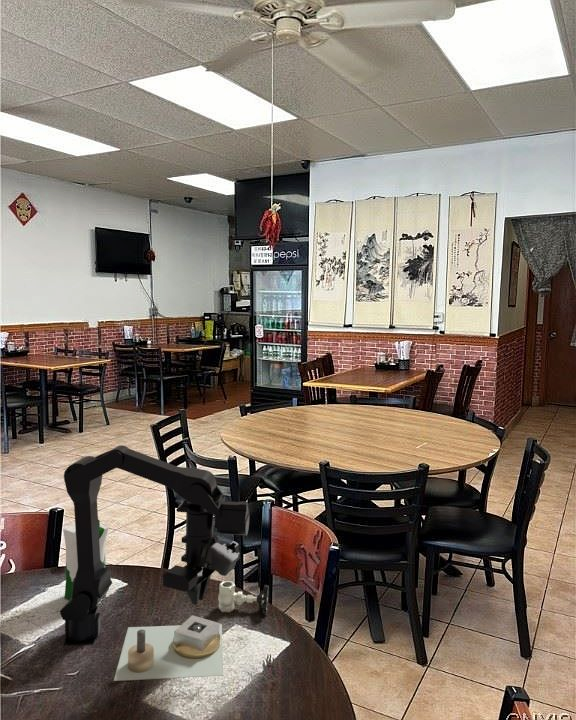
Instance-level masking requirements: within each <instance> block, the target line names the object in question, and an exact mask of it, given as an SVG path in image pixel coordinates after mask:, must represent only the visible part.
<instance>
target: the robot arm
mask: <svg viewBox="0 0 576 720" xmlns="http://www.w3.org/2000/svg"><path fill="white" fill-rule="evenodd" d="M115 469H119V470H122V471H125V472H127V473H130V474H132V475H135V476H137V477H140V478H144V479H146V480H149V481H152V482H154V483H157V484H160V485H161V486H165V487H167V488H168V489H171V490H172V491H173V492H174V493H175V494H176V495H177V496H178V497H180V498H181V499H182V500H183V502H181V503H180V504H179V505H178V507H176V509H175V510H176V512H177V513H185V514H186V515H185V517H186V519H185V535H184V536H182V537H181V543H184V544H185V553H184V554H182V555H181V557H180V560H181V562H184V563H186V564H185V565H184V566H181V565H177V564H174V566H173V567H171V568H170V569H168V570H166V572H165V573H163V574H162V575H161V576H162V578H161V582H162V584H161V585H162V586H163V587H165V588H168V589H169V588H170V589H173V590H176V591H181V592H186V593H187V596H188V597H189V600H190V602H191V603H192V605H193V606H198V604H199V601H203V600H204V598H205V595H206V592H207V588H208V587H209V582H210V579H211V577H212V575H213V574H214V573H215V572H217V573H218V575H220V576H222V577H226V576H227V575H228V574H229V573H231V571H233V570H234V569H235V566H236V563H237V561H238V560H240V558H241V555H240V554H241V553H240V544H239V543H238V542H236V541H234V540H233V541H231V542H229V543H228V542H224V541H219V537H218V535H217V533H219V534H221V535H236V536H248V532H249V528H250V527H249V526H250V512H249V507H248V506H249V503H248V501H228V500H227V501H226V496H225V495H224V493H223V492H222V491H221V489H220V488H219V487H218V485H217V479H216V477H215V475H214V473H212V471H209V470H207V469H202V468H201V469H200V468H196V467H183V466H176V465H174V464H171V463H170V462H169V463H168V462H166V461H163V460H160V459H158V458H155V457H153V456H149V455H147V454H144V453H143V452H140V451H136V450H133V449H131V448H129V447H128V446H126V445H121V444H119V445H117V446H115V447H114V448H112V449H110V450H107V451H105V452H103V453H101V454H98V455H97V456H96V455H95V456H93V455H86V456H84V457H82V458H79V459H78V460H76V461H75V462H74V463H72V464H70V465H69V466H68V467H66V469H65V470H64V473H63V480H64V486H65V489H66V493H67V495H68V496H69V498H70V499H71V501H72V503H73V509H74V525H75V529H76V546H77V563H78V569H77V572H76V576H75V579H74V582H73V588H72V596H71V599H70V600H69V601H68V600H67V601H66V603H65V604H64V605H63V607H62V608H61V609H60V610H59V614H60V617H61V618H62V621H64V640H63V641H62V646H80V645H81V646H82V645H84V646H85V645H94V644H95V642H96V639H97V638H98V637H100V636H99V635H100V632H101V618H102V617H101V614H102V613H100V612H99V606H98V605H99V603H101V601H102V600H103V599H104V598H105V597H104V596H105V594H106V595H107V593H108V591H109V589H110V587H111V586H112V584H113V581H112V578H111V573H112V572H111V571H112V568H111V566H108V567H106V566H105V568H104V566H103V564H102V563H101V560H100V545H99V527H98V520H99V511H98V496H99V492H100V489H101V486H102V481H103V475H105V474H107V473H109V472H111V471H114V470H115ZM214 528H215V529H216V532H217V533H214ZM103 597H104V598H103Z"/></svg>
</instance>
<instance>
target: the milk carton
mask: <svg viewBox="0 0 576 720" xmlns="http://www.w3.org/2000/svg"><path fill="white" fill-rule="evenodd" d="M98 527H99V545H100V560H101V563H102V564H103V566H104V568H106V553H107V552H106V548H107V547H106V544H107V543H106V542H107V537H108V532H109V527H108V526H106V525H104V524H102V523H101V521H100V519H98ZM62 530H63V531H62V532H63V536H64V544H65V586H64V587H65V589H64V590H65V591H64V599H65V600H67V602H68V601H69V600H70V599H71V596H72V588H73V582H74V579H75V576H76V572H77V569H78V563H77V546H76V529H75V524H73V525H70V526H66V527H64V528H62ZM106 597H107V593H106V594H105V596H104V597H103V598H102V599H104V598H106Z"/></svg>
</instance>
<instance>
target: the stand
mask: <svg viewBox="0 0 576 720" xmlns="http://www.w3.org/2000/svg"><path fill="white" fill-rule="evenodd" d="M153 663H154V648H153V646H152V645H150V644H147V643H145V630H138V631H137V644H136V645H134V646H132V647H131V648H130V649H129V651H128V669H129V670H130V671H132V672H135V673H141V672H145V671H148V670H149V669H151V668H152V666H153Z"/></svg>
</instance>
